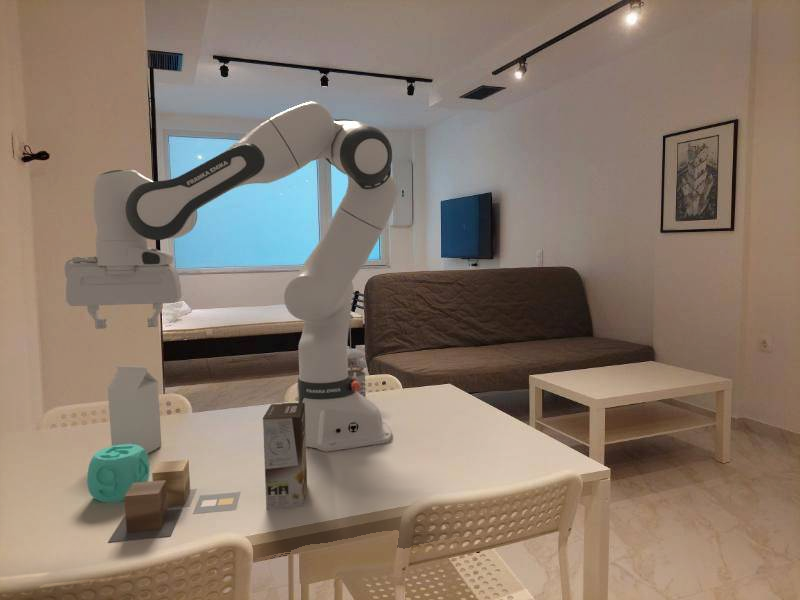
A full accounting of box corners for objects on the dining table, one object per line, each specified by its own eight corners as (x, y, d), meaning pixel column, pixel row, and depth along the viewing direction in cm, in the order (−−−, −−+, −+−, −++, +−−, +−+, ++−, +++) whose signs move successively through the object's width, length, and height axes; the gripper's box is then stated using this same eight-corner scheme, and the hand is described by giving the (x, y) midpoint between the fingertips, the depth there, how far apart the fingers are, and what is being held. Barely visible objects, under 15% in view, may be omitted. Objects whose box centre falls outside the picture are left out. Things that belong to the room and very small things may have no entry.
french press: (330, 406, 156) (327, 316, 154) (341, 395, 168) (339, 311, 165) (364, 407, 155) (363, 317, 152) (373, 396, 166) (372, 311, 163)
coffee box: (303, 509, 96) (300, 417, 94) (265, 511, 95) (261, 418, 94) (307, 485, 105) (305, 401, 103) (273, 487, 105) (269, 403, 103)
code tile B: (197, 490, 104) (197, 488, 104) (189, 507, 97) (189, 506, 97) (156, 493, 103) (156, 492, 103) (146, 511, 96) (146, 509, 96)
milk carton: (141, 458, 120) (135, 370, 118) (112, 456, 121) (106, 369, 119) (161, 446, 127) (156, 363, 125) (133, 444, 128) (128, 362, 126)
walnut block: (160, 529, 89) (158, 493, 88) (126, 533, 88) (124, 496, 87) (167, 515, 94) (165, 480, 93) (135, 518, 93) (133, 482, 92)
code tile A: (240, 493, 102) (240, 491, 102) (236, 511, 95) (236, 509, 95) (200, 497, 101) (199, 495, 101) (192, 515, 94) (192, 513, 94)
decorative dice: (150, 483, 107) (148, 442, 107) (136, 502, 99) (133, 458, 99) (106, 486, 106) (103, 445, 106) (88, 505, 99) (85, 461, 98)
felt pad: (182, 511, 96) (182, 508, 96) (170, 538, 87) (170, 535, 87) (125, 516, 94) (125, 514, 94) (108, 544, 85) (107, 541, 85)
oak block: (190, 491, 103) (188, 459, 102) (184, 504, 98) (182, 470, 97) (161, 494, 102) (159, 461, 101) (154, 506, 97) (152, 473, 96)
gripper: (56, 257, 104) (62, 332, 105) (174, 255, 107) (178, 327, 108) (70, 256, 110) (75, 327, 111) (181, 255, 113) (184, 323, 115)
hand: (127, 327), depth 110 cm, fingers open, 8 cm apart
